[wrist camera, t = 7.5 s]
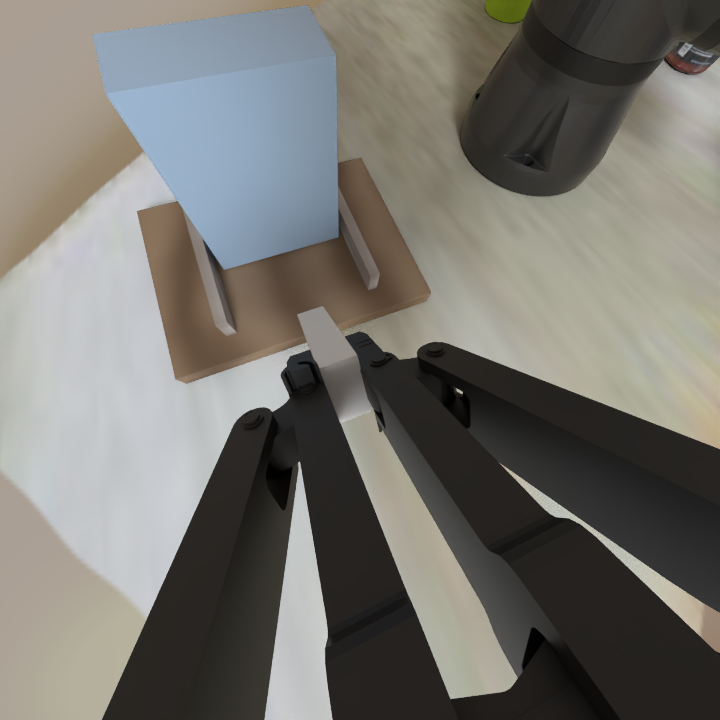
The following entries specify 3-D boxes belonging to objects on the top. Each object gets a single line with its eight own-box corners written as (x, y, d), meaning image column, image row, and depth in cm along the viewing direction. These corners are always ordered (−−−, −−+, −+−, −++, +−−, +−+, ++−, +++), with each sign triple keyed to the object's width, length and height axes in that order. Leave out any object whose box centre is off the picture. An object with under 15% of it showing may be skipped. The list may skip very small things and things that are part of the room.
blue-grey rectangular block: (323, 202, 25) (308, 5, 14) (338, 237, 24) (336, 54, 13) (212, 231, 24) (92, 34, 12) (224, 269, 23) (105, 93, 11)
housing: (360, 171, 29) (363, 124, 25) (426, 301, 25) (443, 271, 21) (148, 224, 26) (109, 179, 21) (186, 383, 22) (148, 368, 17)
